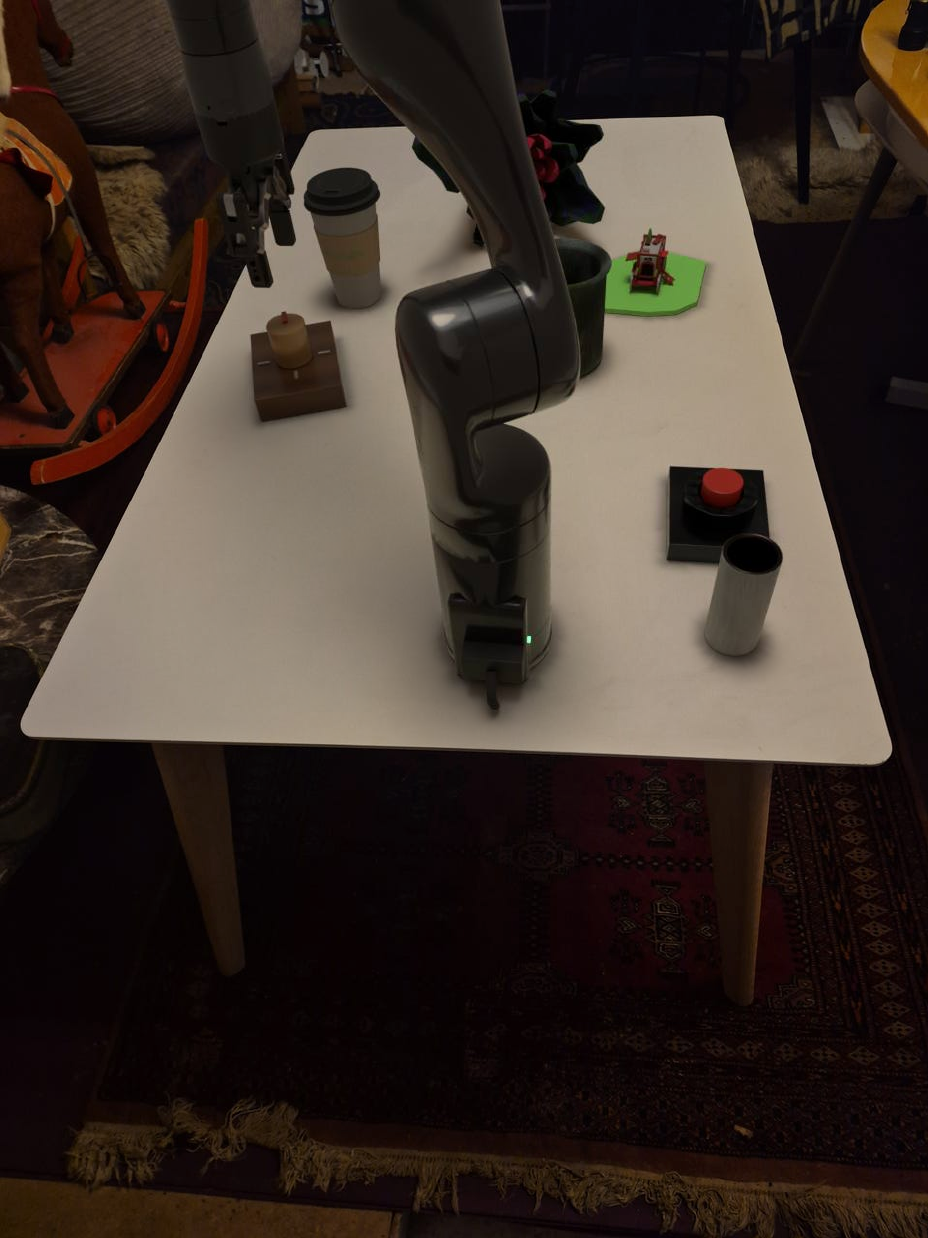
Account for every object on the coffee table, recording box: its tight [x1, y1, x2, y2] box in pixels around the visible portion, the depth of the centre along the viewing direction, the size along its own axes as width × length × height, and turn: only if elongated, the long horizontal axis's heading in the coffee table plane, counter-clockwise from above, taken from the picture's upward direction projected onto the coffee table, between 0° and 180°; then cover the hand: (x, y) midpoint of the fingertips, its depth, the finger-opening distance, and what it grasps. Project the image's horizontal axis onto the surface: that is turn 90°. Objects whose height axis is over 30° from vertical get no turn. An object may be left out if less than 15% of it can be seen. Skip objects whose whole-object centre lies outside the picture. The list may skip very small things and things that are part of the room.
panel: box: [249, 320, 348, 423], centre depth 102 cm, size 14×10×3 cm
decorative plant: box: [411, 88, 606, 248], centre depth 115 cm, size 21×26×30 cm
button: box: [701, 467, 743, 507], centre depth 79 cm, size 4×4×2 cm
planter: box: [704, 533, 784, 657], centre depth 70 cm, size 4×4×10 cm
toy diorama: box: [605, 227, 707, 317], centre depth 109 cm, size 15×15×6 cm
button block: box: [666, 465, 771, 564], centre depth 81 cm, size 11×9×4 cm
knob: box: [265, 310, 313, 369], centre depth 99 cm, size 4×4×5 cm
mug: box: [554, 237, 612, 377], centre depth 98 cm, size 11×15×12 cm
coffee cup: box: [303, 167, 382, 309], centre depth 109 cm, size 9×9×15 cm
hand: (275, 264), depth 92 cm, fingers open, 8 cm apart
